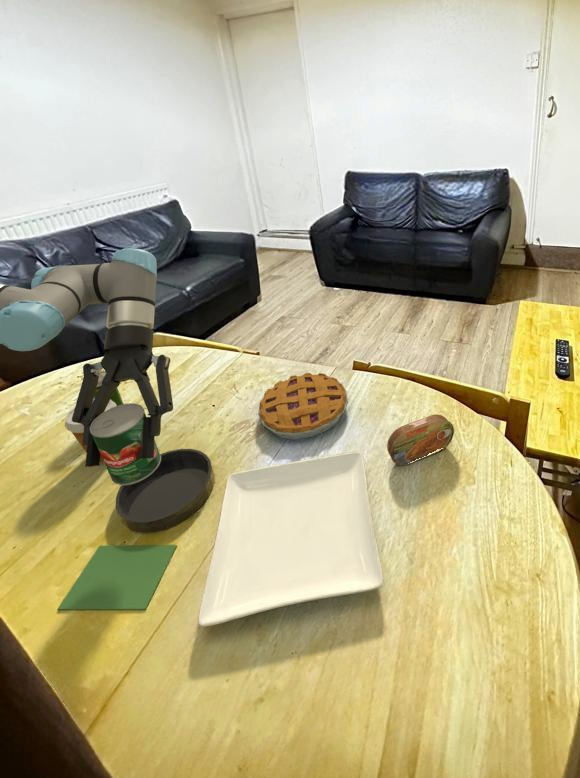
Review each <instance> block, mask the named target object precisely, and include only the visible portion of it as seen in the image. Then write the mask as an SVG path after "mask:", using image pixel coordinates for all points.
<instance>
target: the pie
mask: <svg viewBox="0 0 580 778" xmlns="http://www.w3.org/2000/svg"><path fill="white" fill-rule="evenodd" d="M348 403H349V399H348V393H347V390H346V389H345V387H344V385H343V383H341V382H340V381H339V380H338V379H337V378H336V377H334V376H333V377H331V376H328V375H327V374H325V373H322V372H319V373H318V374H312V373H311V372H305V373H304V374H303V375H299V376H297V375H296V374H295V375H291V376H290V377H289V378H288V379H286V380H284V381H283V380H280V381H278V382H276V383H274V386H273V387H272V388H267V390H266V391H265V392H264V395H263V397H262V398H261V400H260V401H259V406H258V413H257V415H258V417H259V420H260V421H261V424H262V426H263V427H264V428H266V429H268V430H269V431H271V432H272V433H273V434H275V435H276V436H278V437H279V438H280V439H285V440H286V439H287V440H302V439H305V438H307V439H308V438H313V437H315V436H317V435H320V434H322V433H324V432H326V431H329V430H330V429H331V428H332V427H334V426H335V425H336V424H337V423H339V422H340V419H341V416H342V415H344V413H345V410H346V408H347V405H348Z"/></svg>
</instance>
